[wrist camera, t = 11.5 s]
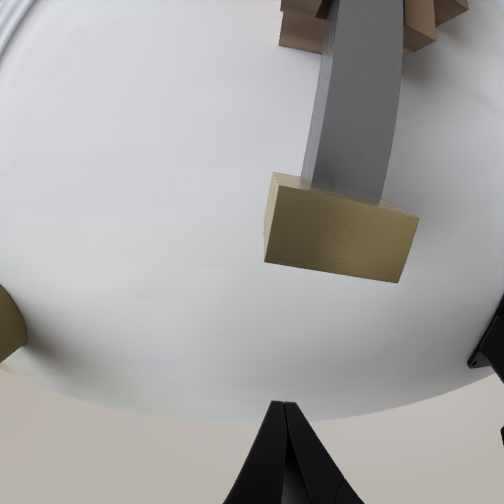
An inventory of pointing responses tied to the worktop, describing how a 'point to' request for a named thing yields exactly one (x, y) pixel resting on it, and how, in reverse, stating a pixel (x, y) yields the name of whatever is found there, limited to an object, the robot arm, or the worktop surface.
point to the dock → (315, 16)
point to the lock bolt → (347, 155)
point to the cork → (10, 326)
